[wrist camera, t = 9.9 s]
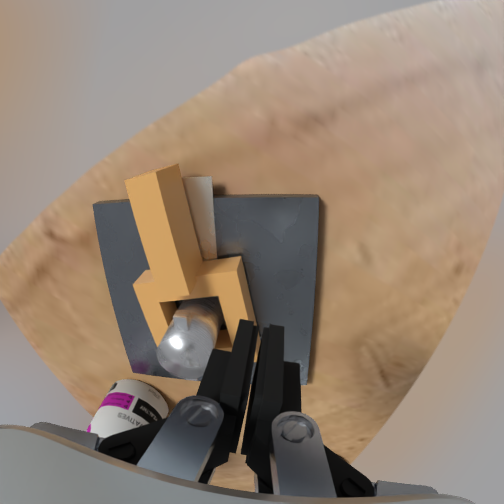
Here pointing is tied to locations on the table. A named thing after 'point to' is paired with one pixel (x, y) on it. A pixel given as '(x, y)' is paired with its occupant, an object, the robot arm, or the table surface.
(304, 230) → the base plate
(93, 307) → the table surface
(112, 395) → the supplement can
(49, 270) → the table surface
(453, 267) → the table surface
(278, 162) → the table surface
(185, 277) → the tan wooden bracket
